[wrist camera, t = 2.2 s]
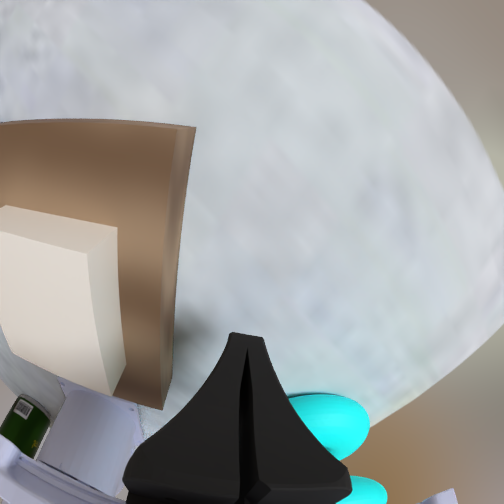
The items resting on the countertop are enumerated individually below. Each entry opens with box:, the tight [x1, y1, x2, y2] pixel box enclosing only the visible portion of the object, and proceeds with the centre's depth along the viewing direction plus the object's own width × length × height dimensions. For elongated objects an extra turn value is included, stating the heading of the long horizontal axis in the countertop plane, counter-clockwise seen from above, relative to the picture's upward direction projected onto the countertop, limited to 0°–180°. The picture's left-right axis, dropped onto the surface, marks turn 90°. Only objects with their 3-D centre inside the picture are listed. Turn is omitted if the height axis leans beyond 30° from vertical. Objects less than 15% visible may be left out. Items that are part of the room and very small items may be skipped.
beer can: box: [0, 394, 51, 459], centre depth 19 cm, size 5×5×12 cm
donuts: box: [289, 394, 387, 504], centre depth 16 cm, size 10×10×10 cm
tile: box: [0, 205, 126, 397], centre depth 11 cm, size 8×7×2 cm
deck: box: [0, 119, 196, 410], centre depth 13 cm, size 16×12×3 cm
